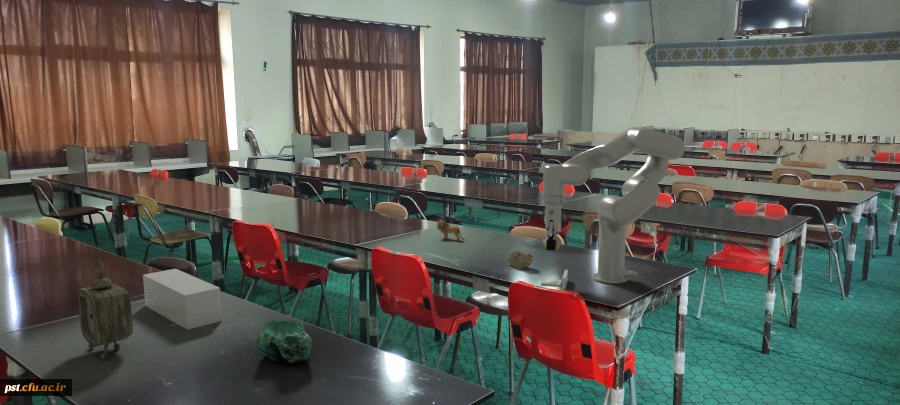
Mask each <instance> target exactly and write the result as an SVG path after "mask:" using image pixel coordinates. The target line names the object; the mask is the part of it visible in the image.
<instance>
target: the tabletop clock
mask: <svg viewBox="0 0 900 405" xmlns="http://www.w3.org/2000/svg"><path fill="white" fill-rule="evenodd" d="M98 264H99V265H100V267H101V269H102V271H101V270H100V271H99V270H98V266H99V265H98ZM94 265H95V266H94V267H95V272H96V274H97V276H98V277H97V278H95V279H94V280H92V282H91V285H90V286H87V287H83V288H78V289H77V302H78V306H77V307H78V315H79V323H80V329H81V330H80V331H81V334H82V336H83V338H84V340H85V341H86V342H88V345H87V347H88V348H89V349H90V350H91V349H94V348H95V347H100V346H104V347H103V348H104V349H103V353H101V355H100V359H101V360H103V361H104V360H107V359H108V356H109V355H108V354H107V351H108V348H109V346H110V345H111V344H113V346H112V347H113V349H114V350H116V351H117V350H119V349H120V348H121V345H120V344H119V343H117V342H120V341H124V340H127V339H128V338H129V337H130V336H131V335H133V331H134V329H133V327H134V326H133V312H132V311H133V310H132V305H131V304H132V302H131V297H130V294H129V292H128V291H127V289H125V288H124V287H122V286H120V285H117V284H113V282H112V280H111V279H110V278H108V277H106V269H105V268H106V267H105V266H104V263H103V262H102V261H100V260H97V261H96V262H95V264H94Z"/></svg>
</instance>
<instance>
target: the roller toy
mask: <svg viewBox="0 0 900 405" xmlns="http://www.w3.org/2000/svg"><path fill="white" fill-rule="evenodd" d="M555 240H556V250H555V251H557V250H559V249H560V247H561V244H562V241H561V238H560V237H559V236H558V235H557V236H556V235H555ZM542 244H543V246H544V247H543V248H544V250H545V251H549V250H547V249H546V248H547V234H546V235H545V236H544V237H543V239H542Z"/></svg>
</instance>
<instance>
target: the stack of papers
mask: <svg viewBox="0 0 900 405" xmlns="http://www.w3.org/2000/svg"><path fill="white" fill-rule="evenodd" d="M142 280H143V291H144V293H143V294H144V303H145V304H144V306H145V307H147V308H149V309H150V310H152V311H154V312H156V313H157V314H159V315H161V316H162V317H164V318H166V319H168V320H170V321H172V322H173V323H174V324H177V325H178V326H180V327H182V328H183V329H186V330H188V331H189V330H192V329H196V328H200V327H203V326H208V325H211V324H215V323H218V322H219V323H220V322H222V321H223V319H222V318H223V315H222V314H223V313H222V302H221V300H222V298H221V287H219V286H217V285H215V284H212V283H210V282H207V281H205V280H203V279H201V278H198V277H196V276H193V275H192V274H189V273H187V272H185V271H182V270H180V269H177V268H172V269H166V270H162V271H161V270H160V271H157V272H156V271H155V272H150V273H145V274H142Z"/></svg>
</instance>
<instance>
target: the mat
mask: <svg viewBox="0 0 900 405" xmlns="http://www.w3.org/2000/svg"><path fill="white" fill-rule="evenodd" d="M540 286H546V287H547V286H549V287H561V286H562V278H561V279H558V278H543V277H542V280H541V282H540Z"/></svg>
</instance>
